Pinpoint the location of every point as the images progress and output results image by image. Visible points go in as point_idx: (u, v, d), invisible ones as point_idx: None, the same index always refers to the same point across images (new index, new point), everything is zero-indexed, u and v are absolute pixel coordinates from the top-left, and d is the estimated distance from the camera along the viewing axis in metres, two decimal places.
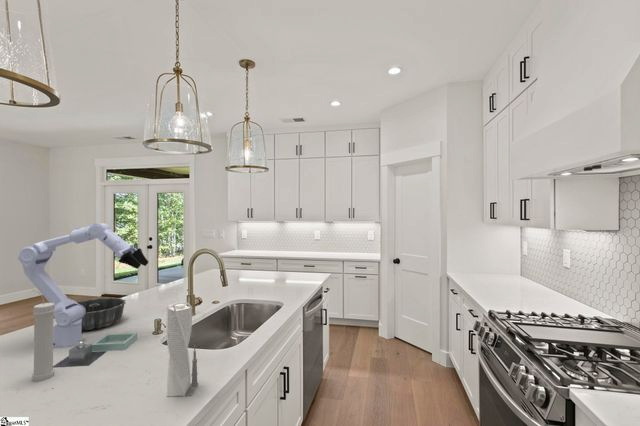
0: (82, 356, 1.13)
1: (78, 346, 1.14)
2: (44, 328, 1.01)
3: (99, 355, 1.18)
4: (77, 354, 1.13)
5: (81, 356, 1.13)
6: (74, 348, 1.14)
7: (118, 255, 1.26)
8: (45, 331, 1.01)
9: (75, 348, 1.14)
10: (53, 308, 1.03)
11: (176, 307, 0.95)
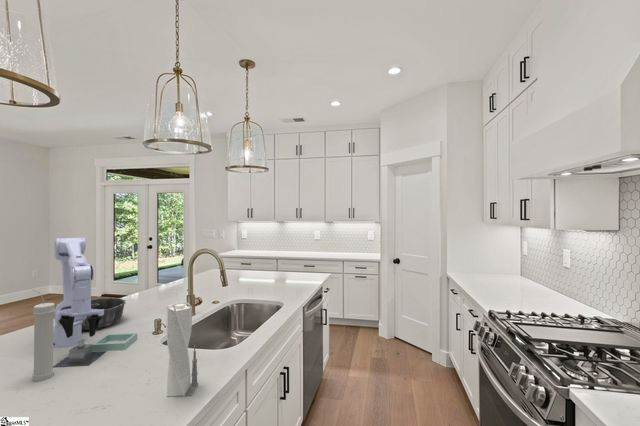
0: (82, 356, 1.13)
1: (78, 346, 1.14)
2: (44, 328, 1.01)
3: (99, 355, 1.18)
4: (77, 354, 1.13)
5: (81, 356, 1.13)
6: (74, 348, 1.14)
7: None
8: (45, 331, 1.01)
9: (75, 348, 1.14)
10: (53, 308, 1.03)
11: (176, 307, 0.95)
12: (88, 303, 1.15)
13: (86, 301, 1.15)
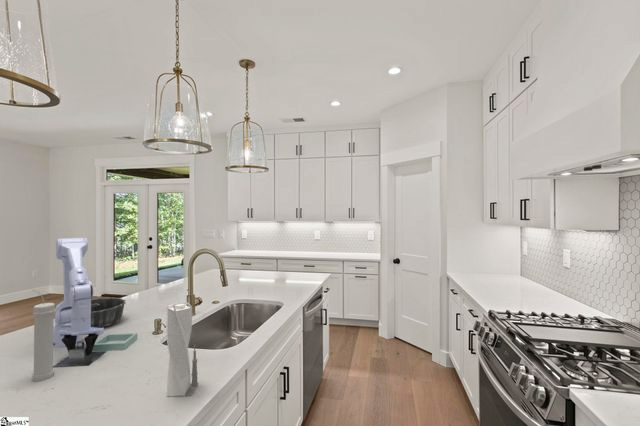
0: (82, 356, 1.13)
1: (78, 346, 1.14)
2: (44, 328, 1.01)
3: (99, 355, 1.18)
4: (77, 354, 1.13)
5: (81, 356, 1.13)
6: (74, 348, 1.14)
7: None
8: (45, 331, 1.01)
9: (75, 348, 1.14)
10: (53, 308, 1.03)
11: (176, 307, 0.95)
12: (88, 321, 1.15)
13: (86, 320, 1.15)
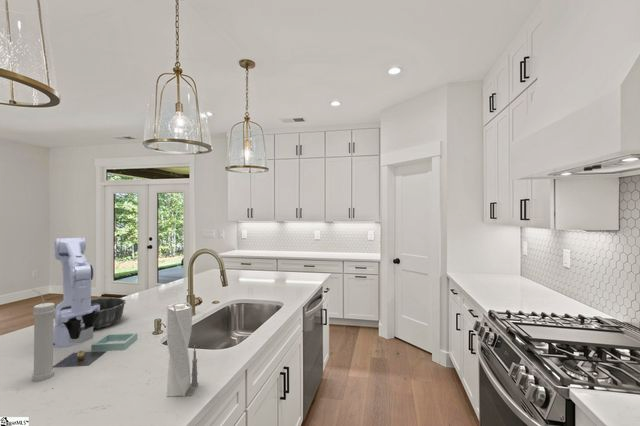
0: (92, 333, 1.17)
1: (83, 327, 1.15)
2: (44, 328, 1.01)
3: (99, 355, 1.18)
4: (88, 333, 1.15)
5: (91, 333, 1.17)
6: (80, 330, 1.14)
7: (62, 319, 1.08)
8: (45, 331, 1.01)
9: (81, 329, 1.14)
10: (53, 308, 1.03)
11: (176, 307, 0.95)
12: None
13: None
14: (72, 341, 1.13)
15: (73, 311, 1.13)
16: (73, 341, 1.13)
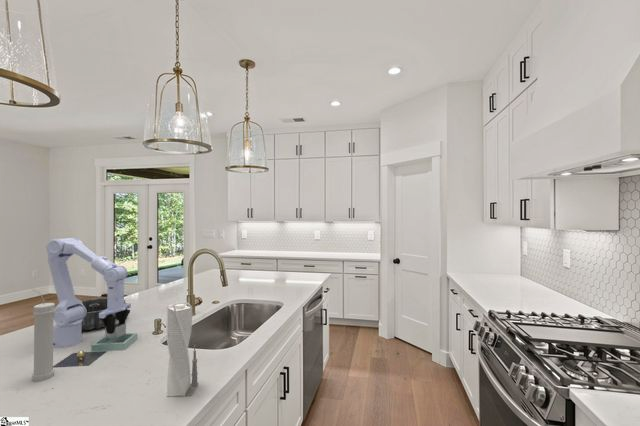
0: (125, 329, 1.30)
1: (117, 323, 1.28)
2: (44, 328, 1.01)
3: (99, 355, 1.18)
4: (121, 329, 1.28)
5: (124, 329, 1.29)
6: (115, 326, 1.26)
7: (100, 316, 1.21)
8: (45, 331, 1.01)
9: (116, 326, 1.27)
10: (53, 308, 1.03)
11: (176, 307, 0.95)
12: None
13: None
14: (108, 336, 1.26)
15: (109, 308, 1.25)
16: (109, 336, 1.26)
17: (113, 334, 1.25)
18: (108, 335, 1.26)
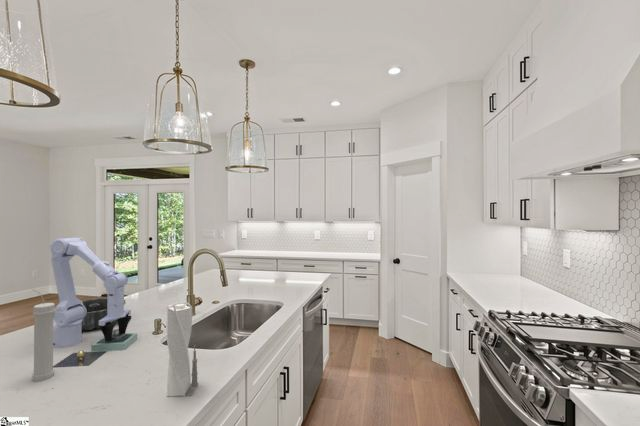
0: (125, 339, 1.30)
1: (117, 333, 1.28)
2: (44, 328, 1.01)
3: (99, 355, 1.18)
4: (121, 339, 1.28)
5: (124, 339, 1.29)
6: (115, 336, 1.26)
7: (100, 323, 1.21)
8: (45, 331, 1.01)
9: (116, 336, 1.27)
10: (53, 308, 1.03)
11: (176, 307, 0.95)
12: None
13: None
14: None
15: (109, 315, 1.25)
16: None
17: None
18: None
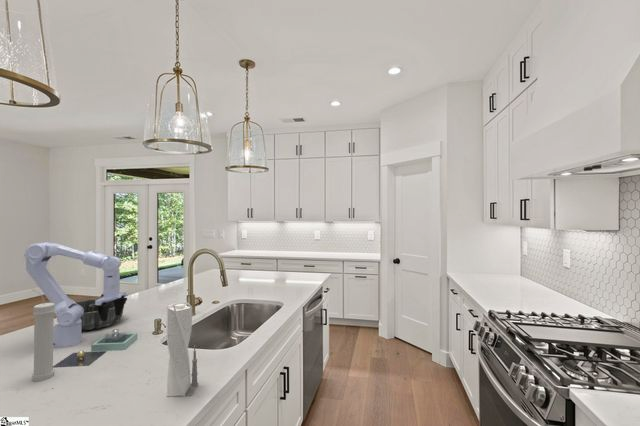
0: (125, 339, 1.30)
1: (117, 333, 1.28)
2: (44, 328, 1.01)
3: (99, 355, 1.18)
4: (121, 339, 1.28)
5: (124, 339, 1.29)
6: (115, 336, 1.26)
7: (96, 303, 1.27)
8: (45, 331, 1.01)
9: (116, 336, 1.27)
10: (53, 308, 1.03)
11: (176, 307, 0.95)
12: None
13: None
14: None
15: (105, 296, 1.32)
16: None
17: None
18: None
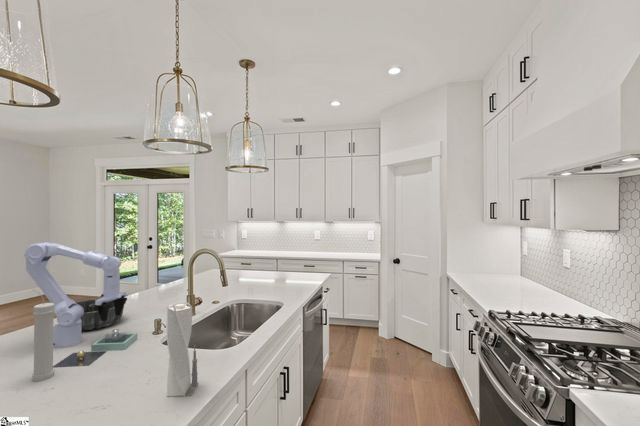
0: (125, 339, 1.30)
1: (117, 333, 1.28)
2: (44, 328, 1.01)
3: (99, 355, 1.18)
4: (121, 339, 1.28)
5: (124, 339, 1.29)
6: (115, 336, 1.26)
7: (96, 303, 1.27)
8: (45, 331, 1.01)
9: (116, 336, 1.27)
10: (53, 308, 1.03)
11: (176, 307, 0.95)
12: None
13: None
14: None
15: (105, 296, 1.32)
16: None
17: None
18: None
